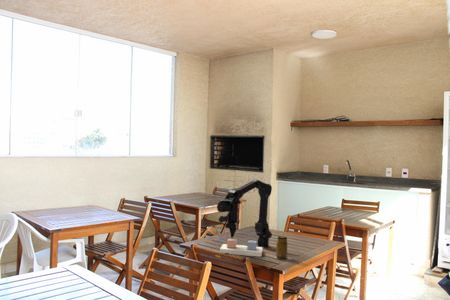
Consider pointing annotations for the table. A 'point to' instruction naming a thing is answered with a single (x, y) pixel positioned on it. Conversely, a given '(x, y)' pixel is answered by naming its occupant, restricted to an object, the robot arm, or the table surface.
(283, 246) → the condiment
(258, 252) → the key panel
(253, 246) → the slate key
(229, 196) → the robot arm
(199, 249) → the table surface
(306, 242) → the table surface
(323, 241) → the table surface
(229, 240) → the terracotta key
